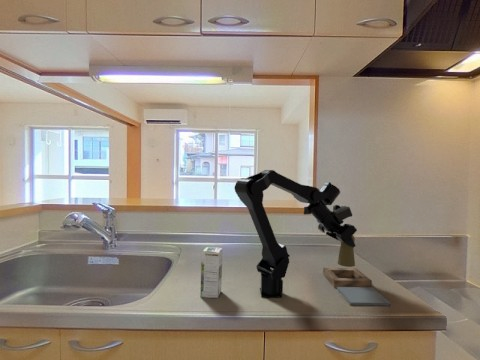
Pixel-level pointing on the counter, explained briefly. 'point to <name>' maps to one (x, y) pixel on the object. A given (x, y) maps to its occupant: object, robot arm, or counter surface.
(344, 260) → the cork
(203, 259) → the syrup box
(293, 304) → the counter surface
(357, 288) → the blue gray mat
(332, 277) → the frame
